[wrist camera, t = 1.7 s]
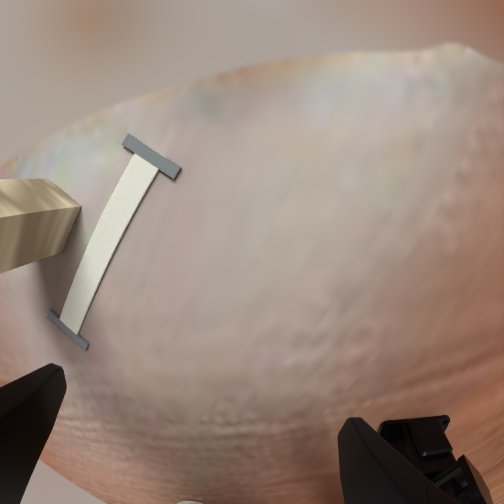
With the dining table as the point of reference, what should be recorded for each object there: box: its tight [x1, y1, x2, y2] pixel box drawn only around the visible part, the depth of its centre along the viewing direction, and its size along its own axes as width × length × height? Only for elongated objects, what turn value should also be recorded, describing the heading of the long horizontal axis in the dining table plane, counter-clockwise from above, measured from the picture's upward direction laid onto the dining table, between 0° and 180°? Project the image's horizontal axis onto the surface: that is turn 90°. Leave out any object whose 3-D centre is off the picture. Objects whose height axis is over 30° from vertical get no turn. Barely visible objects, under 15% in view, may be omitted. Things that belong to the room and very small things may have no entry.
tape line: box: [47, 134, 181, 351], centre depth 20 cm, size 16×4×1 cm, turn 146°
